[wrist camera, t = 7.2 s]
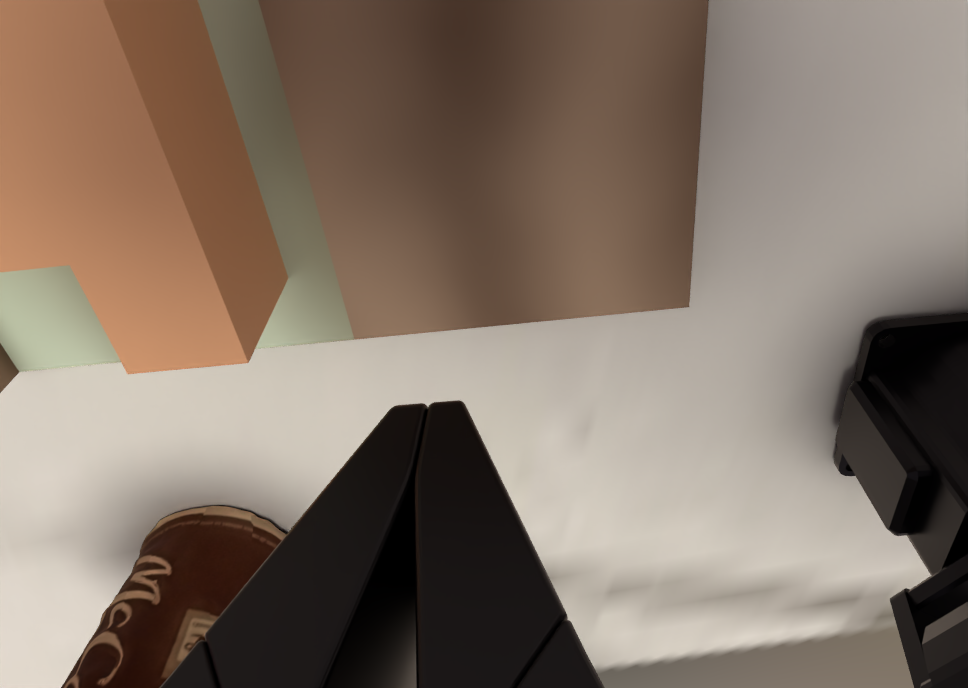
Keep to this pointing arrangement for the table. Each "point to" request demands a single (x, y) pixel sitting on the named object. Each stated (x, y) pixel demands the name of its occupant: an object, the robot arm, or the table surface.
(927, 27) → the table surface
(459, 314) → the board
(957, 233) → the table surface
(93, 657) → the coffee cup
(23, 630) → the table surface
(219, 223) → the tee block
